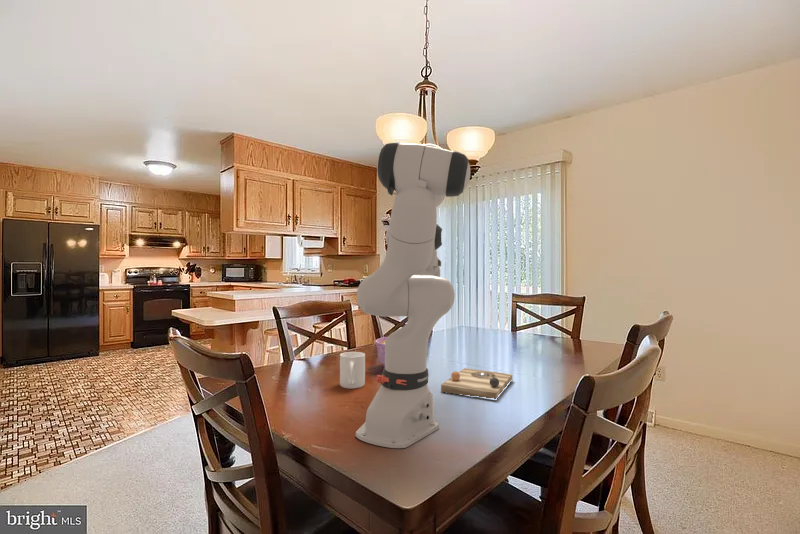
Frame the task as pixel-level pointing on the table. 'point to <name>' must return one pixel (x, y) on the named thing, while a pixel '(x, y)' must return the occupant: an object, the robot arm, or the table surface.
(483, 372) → the ball
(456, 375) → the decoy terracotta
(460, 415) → the table surface
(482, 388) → the board
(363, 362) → the mug
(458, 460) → the table surface
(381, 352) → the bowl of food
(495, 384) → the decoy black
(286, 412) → the table surface
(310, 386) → the table surface
